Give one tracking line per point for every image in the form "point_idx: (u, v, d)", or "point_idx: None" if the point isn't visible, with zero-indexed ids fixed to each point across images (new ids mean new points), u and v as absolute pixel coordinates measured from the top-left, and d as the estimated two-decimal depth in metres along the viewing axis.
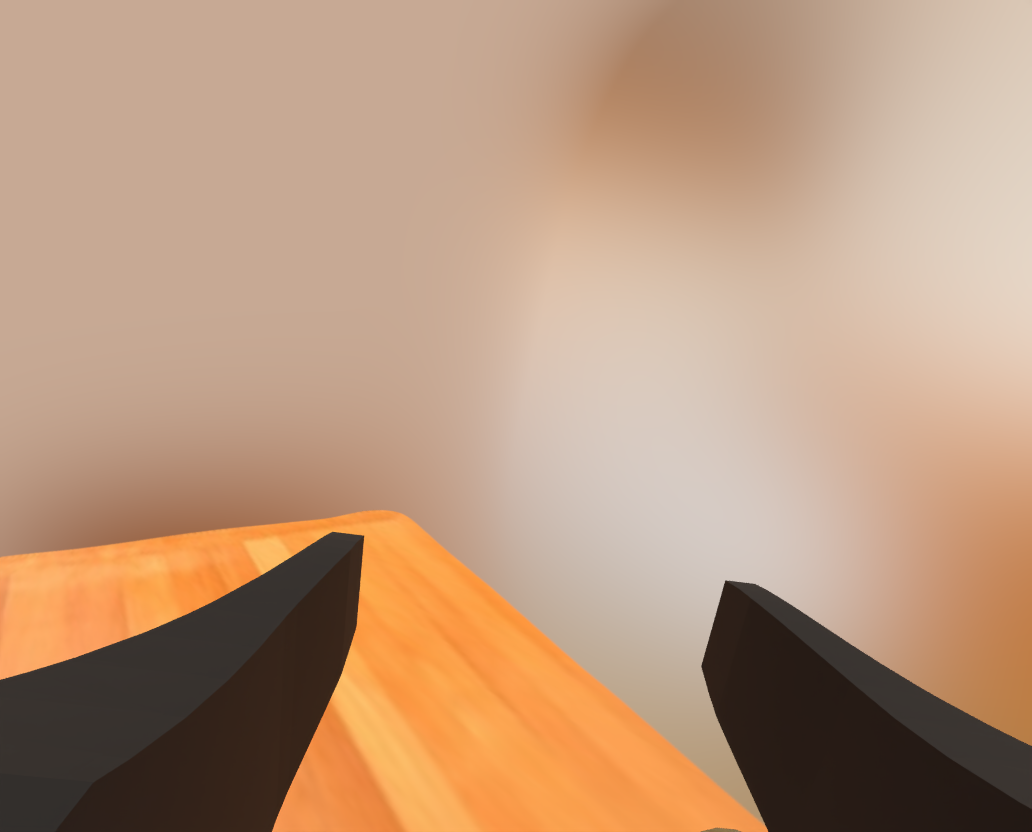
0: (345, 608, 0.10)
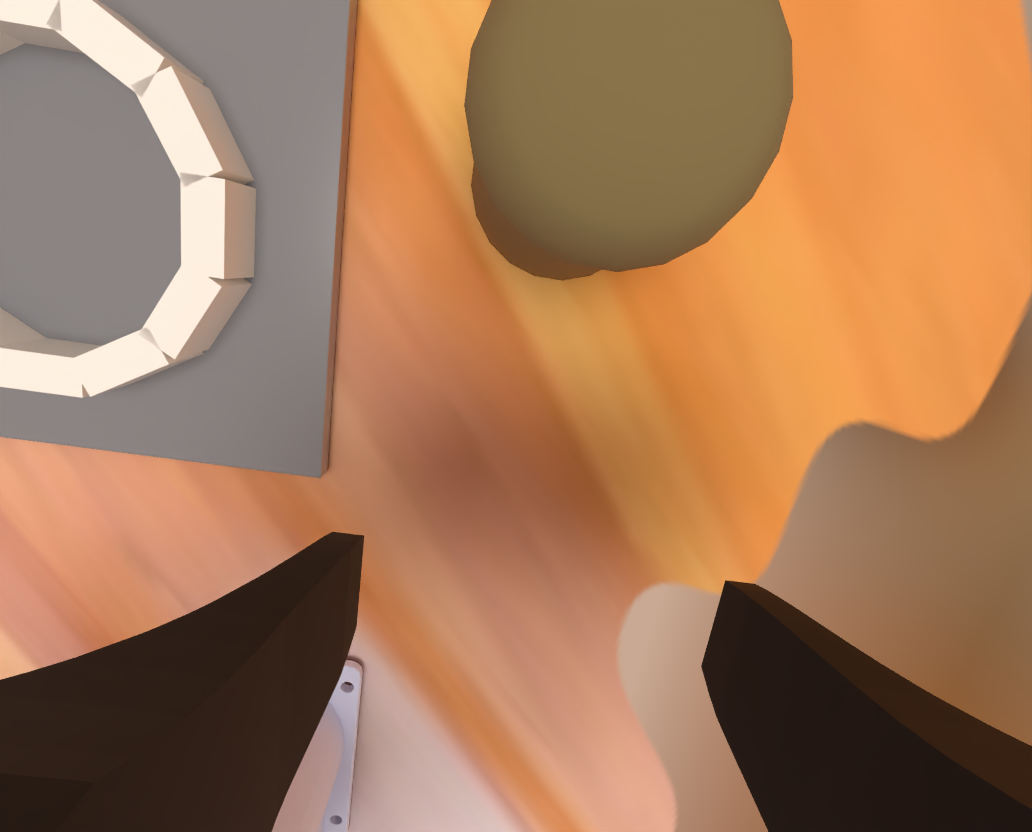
0: (345, 608, 0.10)
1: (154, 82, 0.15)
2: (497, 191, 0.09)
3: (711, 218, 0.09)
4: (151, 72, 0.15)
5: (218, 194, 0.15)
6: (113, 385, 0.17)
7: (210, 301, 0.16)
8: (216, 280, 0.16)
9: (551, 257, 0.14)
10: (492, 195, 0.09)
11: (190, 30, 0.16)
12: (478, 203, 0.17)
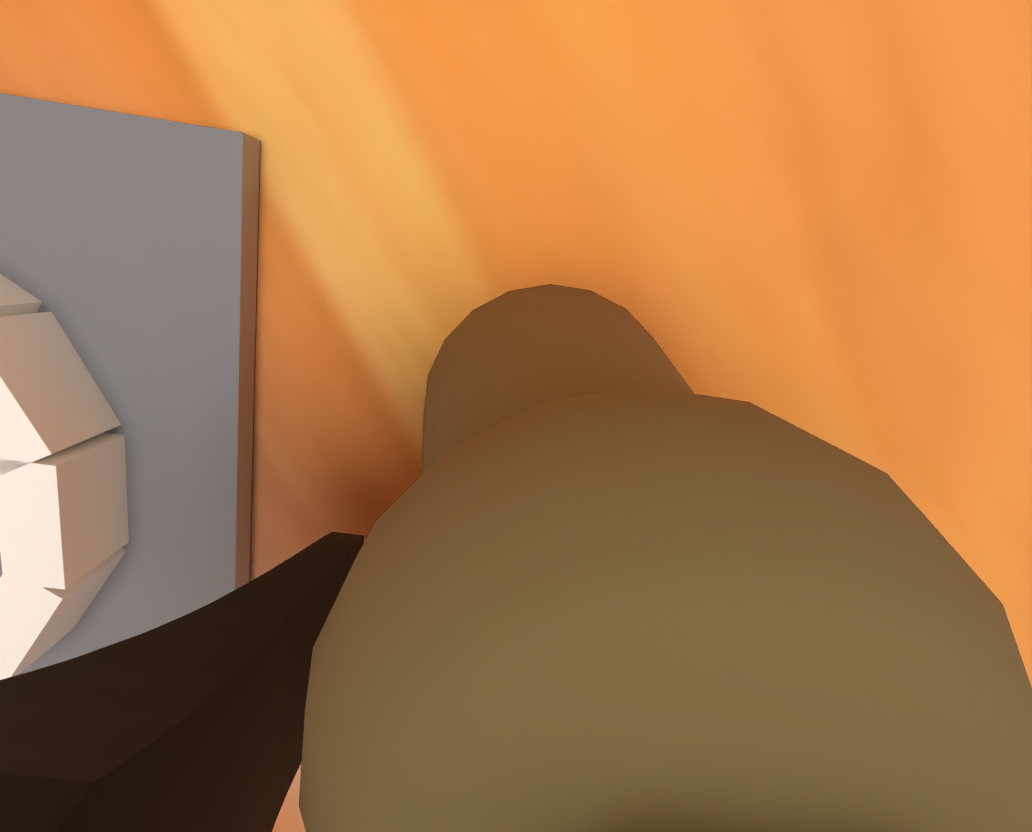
0: None
1: None
2: None
3: None
4: None
5: (48, 484, 0.11)
6: None
7: (48, 616, 0.12)
8: (57, 587, 0.11)
9: None
10: None
11: (18, 236, 0.11)
12: None
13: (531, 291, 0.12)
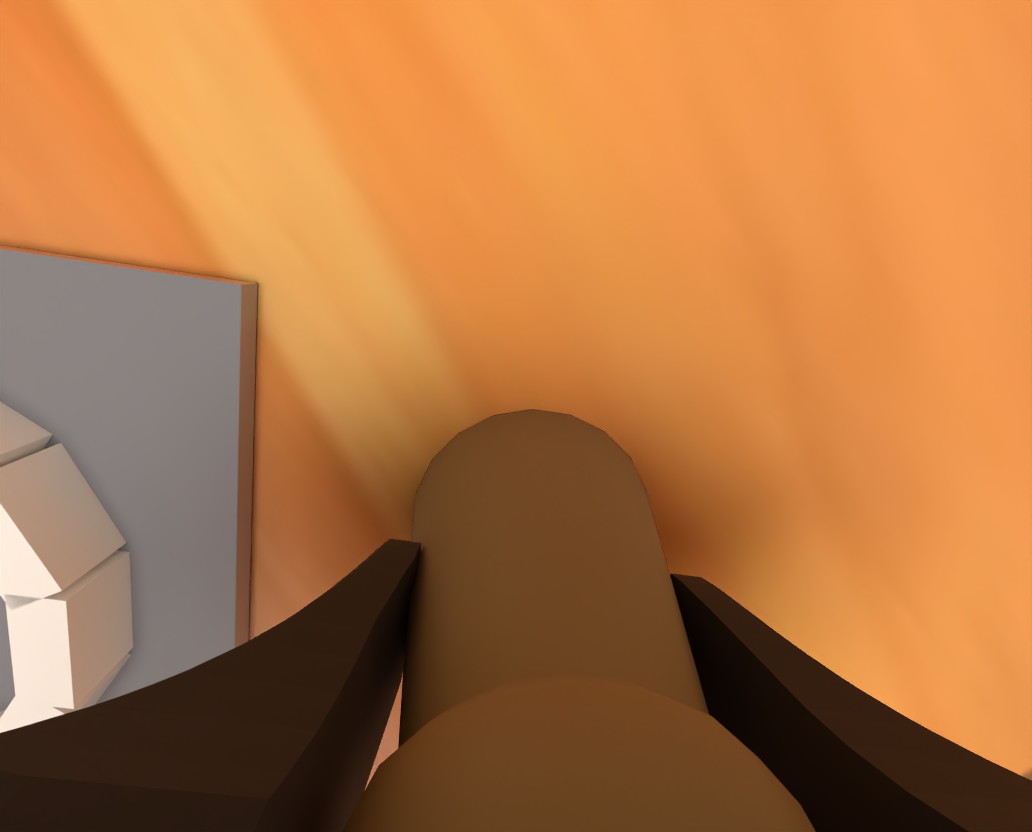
0: (407, 615, 0.10)
1: None
2: None
3: None
4: None
5: (58, 617, 0.11)
6: None
7: None
8: (65, 705, 0.12)
9: None
10: None
11: (30, 376, 0.12)
12: None
13: (513, 420, 0.13)
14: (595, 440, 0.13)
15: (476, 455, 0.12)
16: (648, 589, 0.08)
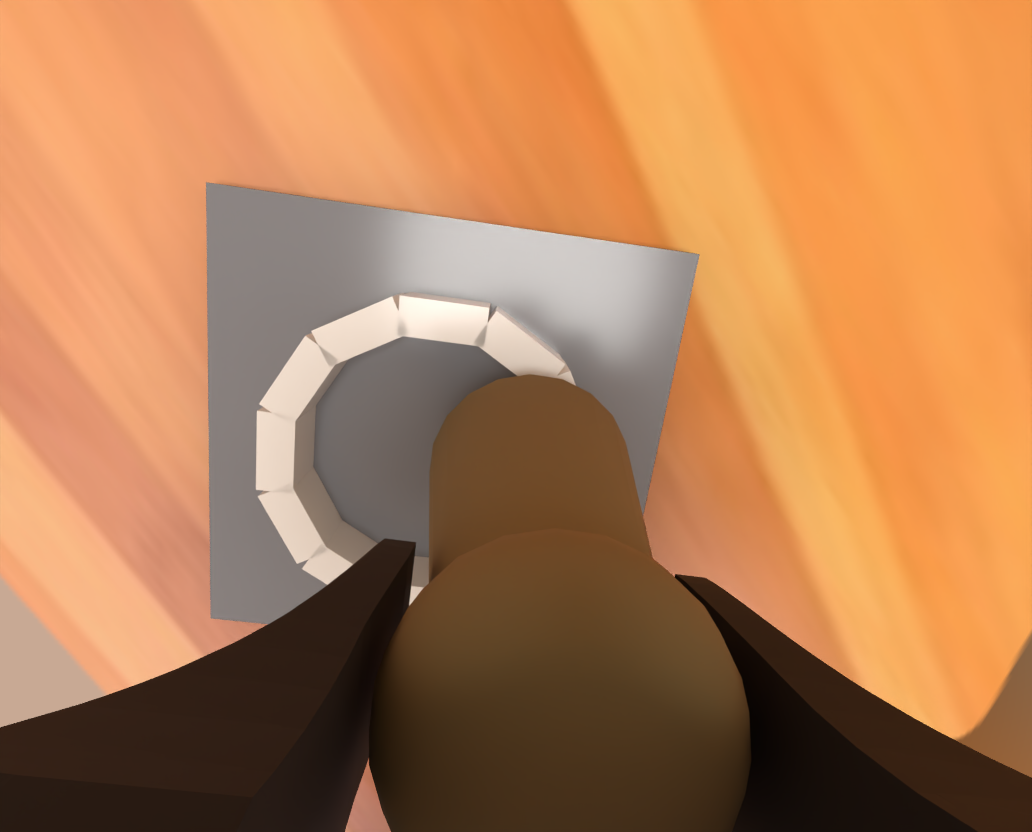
0: (401, 614, 0.10)
1: None
2: None
3: None
4: (552, 375, 0.17)
5: None
6: None
7: None
8: None
9: None
10: None
11: (554, 315, 0.19)
12: None
13: (515, 382, 0.16)
14: (583, 399, 0.15)
15: (484, 408, 0.15)
16: (617, 497, 0.11)
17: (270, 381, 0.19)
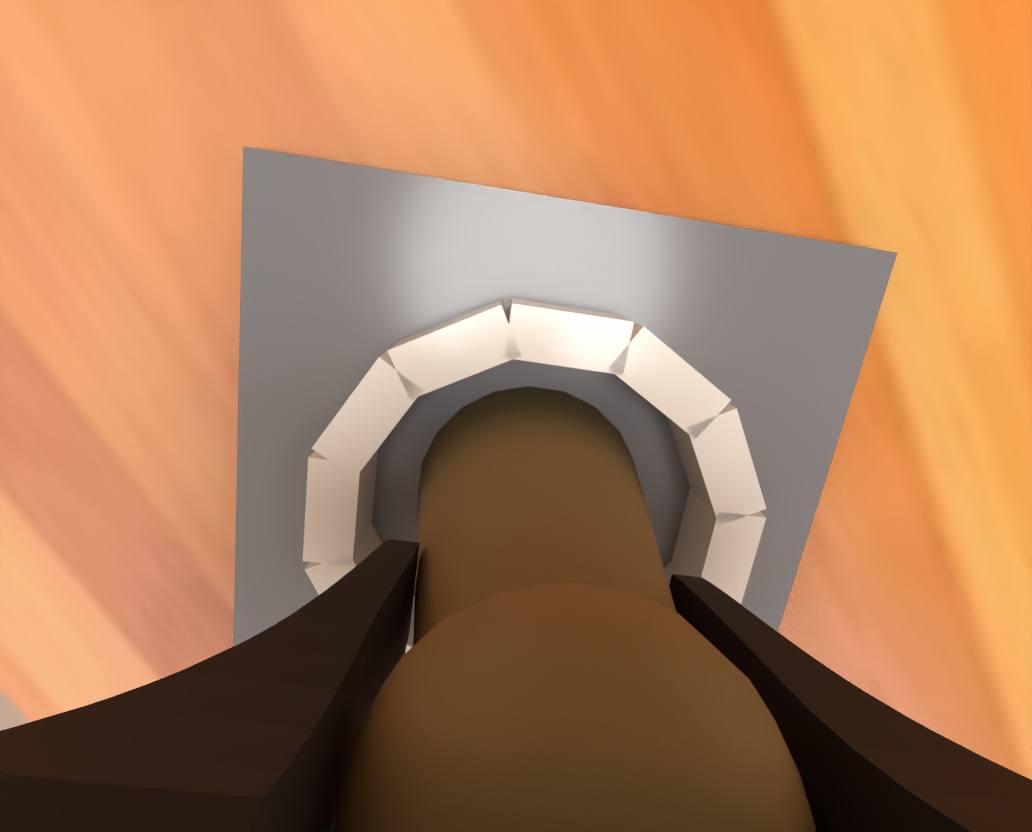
0: (405, 615, 0.10)
1: (713, 424, 0.13)
2: None
3: None
4: (712, 414, 0.13)
5: (754, 532, 0.14)
6: None
7: None
8: None
9: None
10: None
11: (698, 331, 0.14)
12: None
13: (512, 395, 0.14)
14: (587, 413, 0.14)
15: (478, 425, 0.13)
16: (632, 531, 0.09)
17: (320, 412, 0.15)
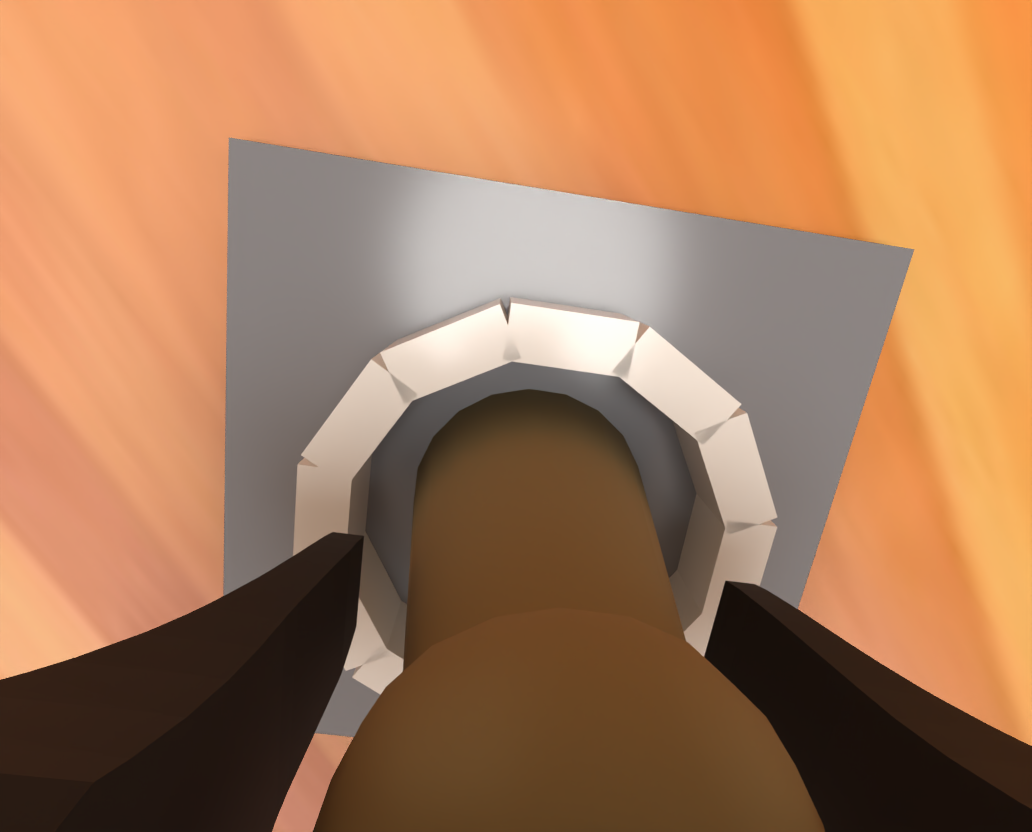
0: (345, 608, 0.10)
1: (722, 429, 0.12)
2: None
3: None
4: (721, 419, 0.12)
5: (764, 541, 0.13)
6: None
7: None
8: None
9: None
10: None
11: (706, 332, 0.14)
12: None
13: (511, 398, 0.13)
14: (589, 417, 0.13)
15: (475, 429, 0.12)
16: (636, 546, 0.09)
17: (311, 416, 0.14)
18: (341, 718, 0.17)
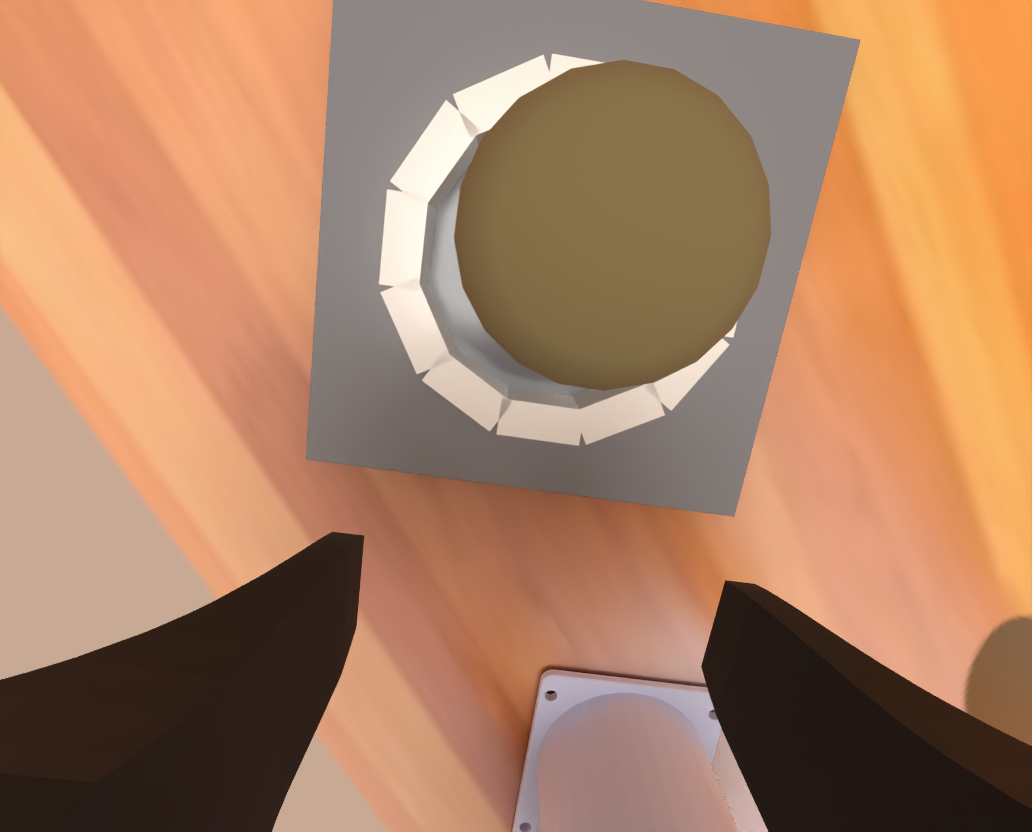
0: (345, 608, 0.10)
1: None
2: (485, 321, 0.09)
3: (692, 354, 0.09)
4: None
5: None
6: (608, 434, 0.18)
7: (715, 358, 0.17)
8: None
9: None
10: (480, 320, 0.10)
11: None
12: None
13: None
14: None
15: None
16: None
17: (389, 180, 0.18)
18: (403, 455, 0.20)
